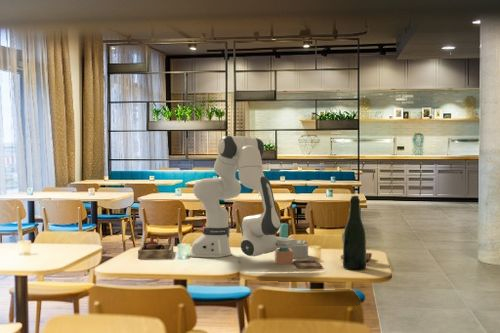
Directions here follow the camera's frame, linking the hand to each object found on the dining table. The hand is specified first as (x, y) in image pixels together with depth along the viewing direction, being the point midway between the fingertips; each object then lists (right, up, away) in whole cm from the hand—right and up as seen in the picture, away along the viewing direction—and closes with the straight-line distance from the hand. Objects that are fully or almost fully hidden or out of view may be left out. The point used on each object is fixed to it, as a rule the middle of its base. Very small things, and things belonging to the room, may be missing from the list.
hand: (284, 239), depth 292 cm
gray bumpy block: (+7, -11, +15) cm, 20 cm away
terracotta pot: (-1, -12, 0) cm, 12 cm away
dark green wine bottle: (+31, -12, -11) cm, 35 cm away
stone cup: (+35, -12, +8) cm, 38 cm away
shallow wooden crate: (-64, -11, +22) cm, 68 cm away
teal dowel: (-1, -11, 0) cm, 11 cm away
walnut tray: (+10, -12, -9) cm, 18 cm away
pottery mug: (-65, -11, +20) cm, 69 cm away
